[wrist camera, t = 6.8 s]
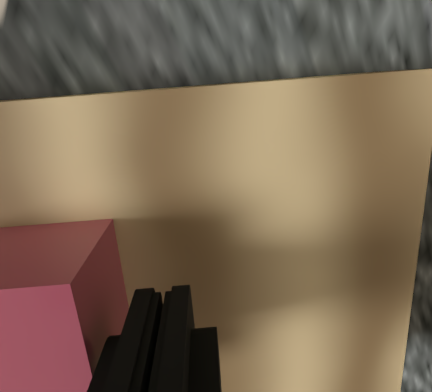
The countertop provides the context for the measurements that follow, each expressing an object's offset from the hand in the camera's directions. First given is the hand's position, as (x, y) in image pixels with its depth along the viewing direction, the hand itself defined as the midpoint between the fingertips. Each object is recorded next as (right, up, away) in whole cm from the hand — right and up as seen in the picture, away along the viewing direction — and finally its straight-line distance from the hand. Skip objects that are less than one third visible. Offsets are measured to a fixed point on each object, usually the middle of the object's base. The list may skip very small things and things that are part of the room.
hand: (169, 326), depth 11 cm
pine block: (+1, +2, +6) cm, 6 cm away
